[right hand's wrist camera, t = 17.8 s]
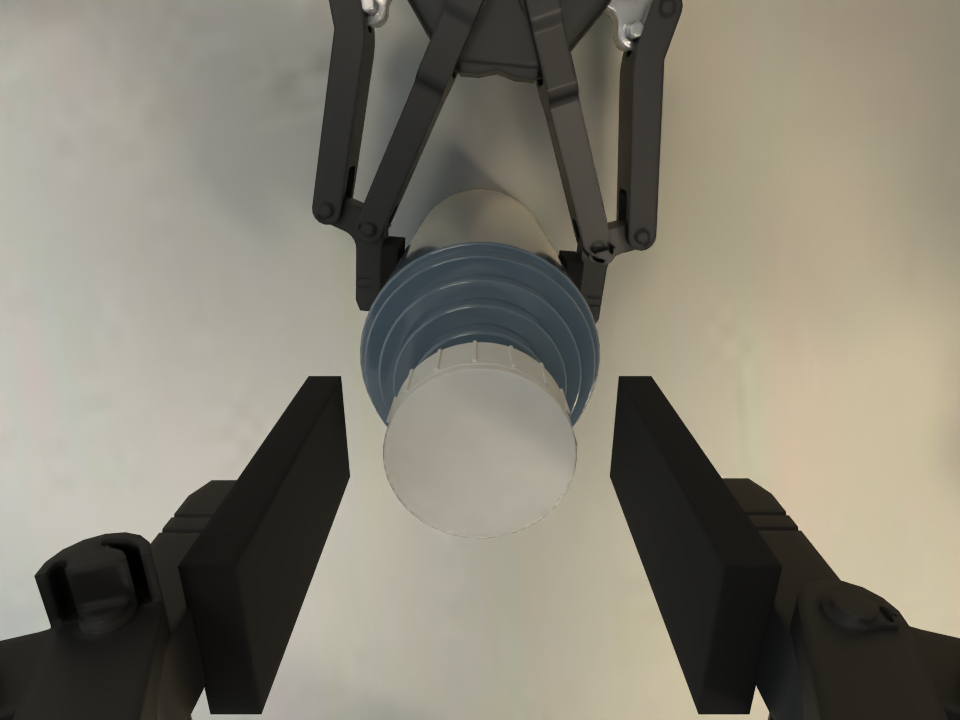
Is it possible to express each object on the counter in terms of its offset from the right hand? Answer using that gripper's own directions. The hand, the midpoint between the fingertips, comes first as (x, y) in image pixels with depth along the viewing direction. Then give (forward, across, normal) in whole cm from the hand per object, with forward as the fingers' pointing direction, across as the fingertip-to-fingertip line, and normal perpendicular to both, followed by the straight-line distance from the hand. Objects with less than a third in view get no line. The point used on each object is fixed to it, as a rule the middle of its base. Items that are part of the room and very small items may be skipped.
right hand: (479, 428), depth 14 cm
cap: (-1, 0, 0) cm, 1 cm away
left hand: (+14, 0, -5) cm, 15 cm away
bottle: (+20, 0, 0) cm, 20 cm away
